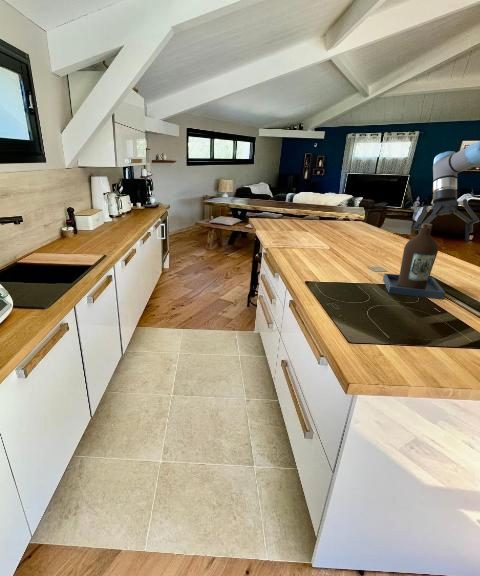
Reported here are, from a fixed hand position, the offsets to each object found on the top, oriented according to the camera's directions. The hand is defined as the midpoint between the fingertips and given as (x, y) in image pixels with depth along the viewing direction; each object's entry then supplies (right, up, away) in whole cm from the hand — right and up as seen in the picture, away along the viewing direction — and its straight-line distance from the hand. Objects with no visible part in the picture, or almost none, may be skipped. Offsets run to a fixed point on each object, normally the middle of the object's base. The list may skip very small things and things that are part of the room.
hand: (444, 243), depth 123 cm
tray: (-12, -18, +3) cm, 21 cm away
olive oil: (-12, -17, +2) cm, 21 cm away
